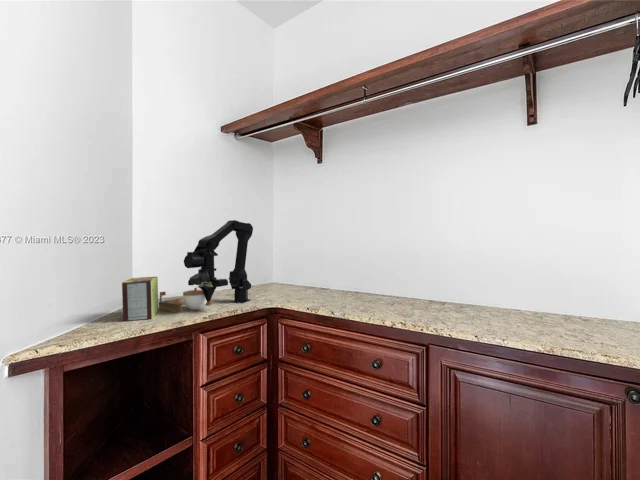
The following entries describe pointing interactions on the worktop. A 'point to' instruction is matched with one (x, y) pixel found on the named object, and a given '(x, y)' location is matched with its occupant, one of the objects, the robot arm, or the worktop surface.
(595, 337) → the worktop surface
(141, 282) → the protein box
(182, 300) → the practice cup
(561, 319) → the worktop surface
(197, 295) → the lidded jar
